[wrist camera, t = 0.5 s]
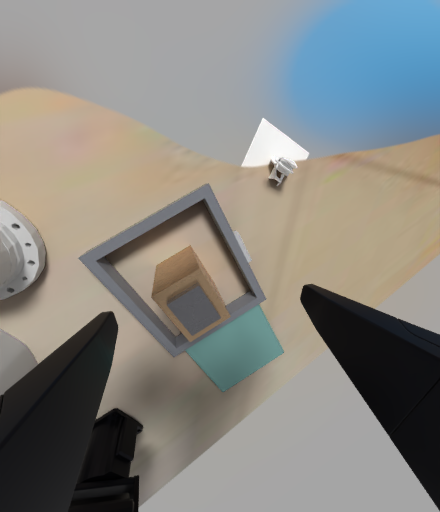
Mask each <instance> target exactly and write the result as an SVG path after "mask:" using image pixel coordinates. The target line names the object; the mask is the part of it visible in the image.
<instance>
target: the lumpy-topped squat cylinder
mask: <svg viewBox="0 0 440 512" xmlns="http://www.w3.org/2000/svg"><path fill="white" fill-rule="evenodd" d="M37 365H38V363H37V361H36V359H35V357H34V355H33V354H32V352H31V351H30V349H29V348H28V346H27V345H26V344H24V343H23V342H22V341H20V340H19V339H17V338H16V337H14V336H12V335H11V334H9V333H7V332H5V331H3V330H2V329H0V395H2V394H4V392H5V391H6V390H8V389H9V388H10V387H11V386H12V385H14V384H15V383H16V382H17V381H18V380H20V379H21V378H22V377H23V376H25V375H26V374H27V373H28V372H29V371H31V370H32V369H33V368H34V367H36V366H37Z"/></svg>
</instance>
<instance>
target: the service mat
mask: <svg viewBox="0 0 440 512" xmlns="http://www.w3.org/2000/svg"><path fill="white" fill-rule="evenodd" d="M185 351H186V352H187V353H188V354H189V355H190V356H191V357H192V359H193V360H194V361H195V362H196V363H197V364H198V365H199V366H200V367H201V369H202V370H203V371H204V372H205V373H206V374H207V375H208V376H209V377H210V379H211V380H212V381H213V382H214V383H215V384H216V385H217V386H218V388H219V389H220V390H221V391H222V392H224V391H226V390H228V389H229V388H231V387H232V386H234V385H235V384H237V383H238V382H240V381H241V380H243V379H244V378H246V377H247V376H249V375H251V374H252V373H254V372H255V371H257V370H258V369H260V368H261V367H263V366H264V365H266V364H267V363H269V362H270V361H272V360H274V359H275V358H277V357H278V356H280V355H281V354H283V353H284V351H283V349H282V347H281V345H280V343H279V341H278V339H277V338H276V336H275V334H274V332H273V330H272V328H271V326H270V324H269V322H268V321H267V319H266V317H265V315H264V313H263V311H262V309H261V307H260V305H259V304H258V305H257V306H255V307H253V308H252V309H250V310H249V311H247V312H245V313H244V314H242V315H241V316H239V317H237V318H236V319H234V320H233V321H231V322H229V323H228V324H226V325H225V326H223V327H221V328H220V329H218V330H217V331H215V332H214V333H212V334H210V335H209V336H207V337H206V338H204V339H202V340H201V341H199V342H198V343H196V344H194V345H193V346H191V347H190V348H188V349H186V350H185Z"/></svg>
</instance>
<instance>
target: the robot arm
mask: <svg viewBox="0 0 440 512" xmlns="http://www.w3.org/2000/svg"><path fill="white" fill-rule="evenodd" d="M300 300H301V303H302V305H303V307H304V308H305V310H306V312H307V314H308V316H309V317H310V319H311V321H312V323H313V325H314V326H315V328H316V330H317V331H318V333H319V334H320V336H321V337H322V339H323V340H324V342H325V343H326V345H327V346H328V347H329V349H330V350H331V352H332V353H333V355H334V356H335V358H336V359H337V361H338V362H339V363H340V365H341V367H342V368H343V369H344V371H345V372H346V374H347V375H348V377H349V378H350V380H351V381H352V382H353V384H354V385H355V387H356V388H357V390H358V391H359V393H360V394H361V396H362V397H363V399H364V400H365V402H366V403H367V405H368V406H369V408H370V409H371V410H372V412H373V413H374V415H375V416H376V418H377V419H378V421H379V422H380V424H381V425H382V427H383V428H384V430H385V431H386V432H387V434H388V435H389V437H390V438H391V440H392V441H393V443H394V445H395V446H396V447H397V449H398V450H399V452H400V453H401V455H402V456H403V458H404V459H405V461H406V462H407V464H408V465H409V467H410V468H411V469H412V471H413V472H414V474H415V475H416V477H417V478H418V479H419V481H420V483H421V484H422V486H423V487H424V489H425V490H426V492H427V493H428V494H429V496H430V497H431V499H432V500H433V502H434V503H435V505H436V506H437V507H438V509H439V511H440V334H437V333H434V332H431V331H429V330H426V329H423V328H421V327H418V326H416V325H413V324H411V323H408V322H406V321H403V320H401V319H397V318H395V317H393V316H390V315H388V314H385V313H383V312H381V311H378V310H375V309H373V308H371V307H368V306H366V305H363V304H361V303H358V302H356V301H353V300H351V299H348V298H346V297H343V296H341V295H338V294H336V293H333V292H331V291H328V290H326V289H323V288H321V287H318V286H316V285H314V284H307V285H304V286H303V289H302V293H301V297H300ZM117 334H118V324H117V321H116V318H115V315H114V313H113V312H112V311H108V312H102V313H100V314H99V315H98V316H97V317H95V318H94V319H93V320H92V321H90V322H89V323H88V324H87V325H86V326H84V327H83V328H82V329H81V330H79V331H78V332H77V333H76V334H75V335H73V336H72V337H71V338H70V339H68V340H67V341H66V342H65V343H64V344H62V345H61V346H60V347H59V348H58V349H56V350H55V351H54V352H53V353H51V354H50V355H49V356H48V357H47V358H45V359H44V360H43V361H42V362H40V363H39V364H38V365H37V366H36V367H34V368H33V369H32V370H31V371H29V372H28V373H27V374H26V375H25V376H23V377H22V378H21V379H20V380H18V381H17V382H16V383H15V384H14V385H12V386H11V387H10V388H9V389H8V390H6V391H5V392H4V394H2V395H0V512H138V502H139V475H137V476H134V477H129V472H130V465H131V461H132V460H133V458H134V451H135V443H136V435H137V434H138V433H140V432H141V431H142V429H143V426H142V425H141V424H139V423H138V422H136V421H135V420H133V419H132V418H130V417H129V416H127V415H126V414H124V413H123V412H121V411H120V410H118V409H113V410H111V411H110V412H108V413H106V414H105V415H103V416H102V417H100V418H99V419H97V420H96V416H97V413H98V410H99V406H100V403H101V400H102V396H103V393H104V390H105V386H106V383H107V380H108V376H109V373H110V369H111V366H112V361H113V355H114V350H115V344H116V339H117Z"/></svg>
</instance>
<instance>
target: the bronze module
mask: <svg viewBox="0 0 440 512" xmlns="http://www.w3.org/2000/svg"><path fill="white" fill-rule="evenodd" d="M152 299H153V300H154V301H155V302H156V303H157V304H158V306H159V307H160V308H161V309H162V310H163V311H164V313H165V314H166V315H167V316H168V317H169V318H170V320H171V321H172V322H173V323H174V324H175V325H176V327H177V328H178V329H179V330H180V331H181V332H182V334H183V335H184V336H185V337H186V338H187V339H188V341H189V342H191V341H193V340H195V339H196V338H198V337H199V336H201V335H203V334H204V333H206V332H207V331H209V330H211V329H212V328H214V327H215V326H217V325H219V324H220V323H222V322H223V321H225V320H227V319H228V318H230V317H231V316H230V314H229V312H228V310H227V308H226V306H225V304H224V302H223V300H222V298H221V296H220V294H219V292H218V290H217V288H216V285H215V283H214V282H213V280H212V279H211V277H210V275H209V274H208V272H207V271H206V269H205V268H204V266H203V264H202V263H201V261H200V260H199V258H198V256H197V255H196V253H195V252H194V250H193V248H192V247H191V245H190V246H188V247H187V248H185V249H183V250H182V251H180V252H178V253H176V254H175V255H173V256H171V257H170V258H168V259H166V260H165V261H163V262H161V263H160V264H158V265H157V266H156V272H155V278H154V284H153V291H152Z"/></svg>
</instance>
